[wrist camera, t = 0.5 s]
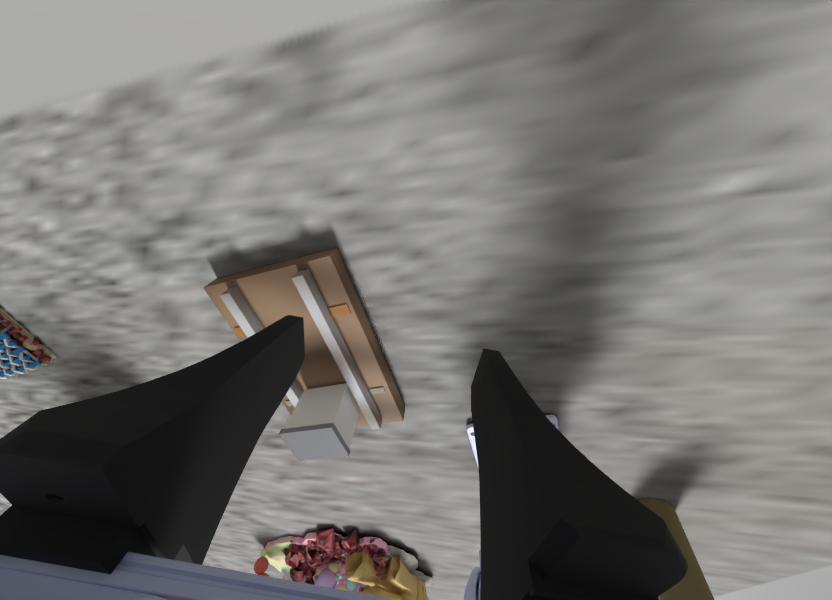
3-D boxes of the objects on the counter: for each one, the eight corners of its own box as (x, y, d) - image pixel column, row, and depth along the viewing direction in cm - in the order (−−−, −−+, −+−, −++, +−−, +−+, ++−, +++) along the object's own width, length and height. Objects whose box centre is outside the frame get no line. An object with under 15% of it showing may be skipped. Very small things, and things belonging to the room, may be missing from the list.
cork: (602, 510, 34) (661, 659, 25) (656, 492, 32) (745, 650, 22) (631, 532, 36) (696, 679, 27) (685, 516, 33) (779, 673, 24)
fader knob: (362, 408, 26) (348, 455, 23) (318, 414, 27) (298, 460, 24) (348, 382, 25) (331, 427, 21) (302, 389, 26) (278, 434, 22)
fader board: (405, 406, 29) (401, 430, 26) (309, 419, 31) (299, 442, 28) (337, 247, 21) (324, 261, 19) (216, 278, 23) (193, 294, 21)
